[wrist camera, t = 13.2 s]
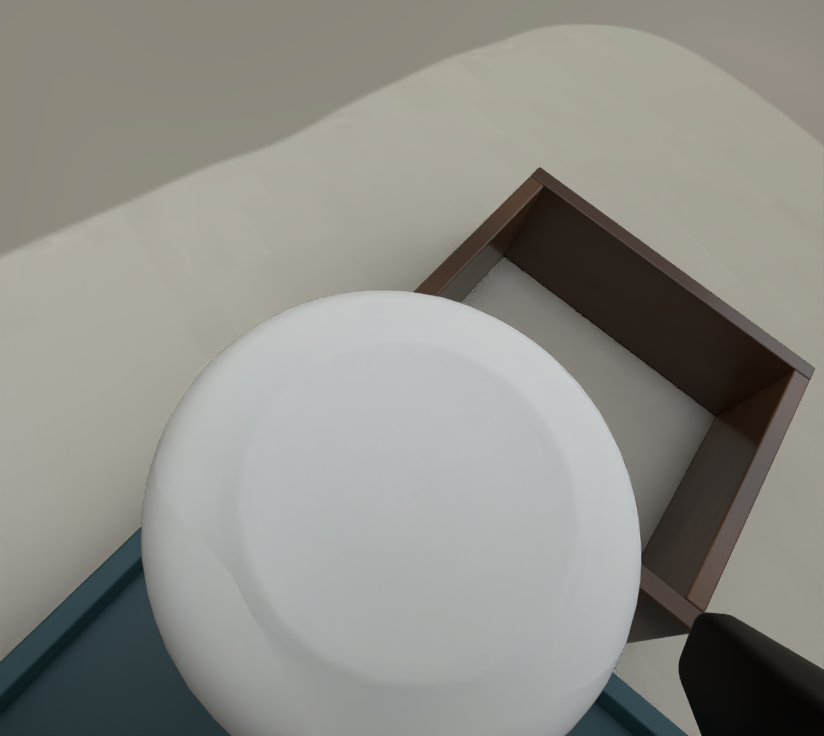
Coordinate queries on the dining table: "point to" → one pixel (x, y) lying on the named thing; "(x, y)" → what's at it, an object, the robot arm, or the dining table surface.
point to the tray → (167, 672)
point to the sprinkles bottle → (390, 528)
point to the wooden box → (668, 354)
